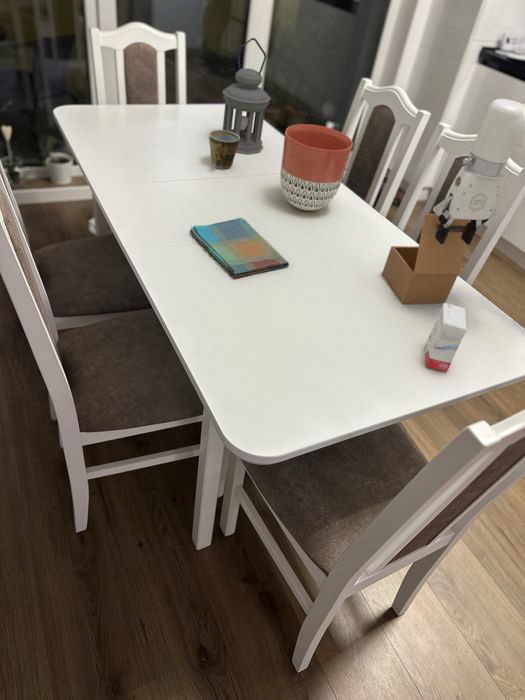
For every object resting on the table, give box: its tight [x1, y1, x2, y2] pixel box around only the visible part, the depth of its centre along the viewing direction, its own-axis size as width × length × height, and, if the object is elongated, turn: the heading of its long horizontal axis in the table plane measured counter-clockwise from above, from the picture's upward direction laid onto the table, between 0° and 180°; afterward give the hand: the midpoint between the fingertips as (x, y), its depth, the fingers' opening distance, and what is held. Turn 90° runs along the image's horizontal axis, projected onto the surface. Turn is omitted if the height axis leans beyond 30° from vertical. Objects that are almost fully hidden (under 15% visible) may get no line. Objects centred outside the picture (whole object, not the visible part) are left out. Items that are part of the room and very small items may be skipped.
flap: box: [414, 213, 470, 275], centre depth 125 cm, size 14×12×4 cm
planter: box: [279, 123, 354, 212], centre depth 160 cm, size 20×20×21 cm
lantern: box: [221, 37, 272, 155], centre depth 186 cm, size 17×17×35 cm
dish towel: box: [189, 217, 290, 278], centre depth 141 cm, size 17×23×2 cm
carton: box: [381, 245, 459, 305], centre depth 137 cm, size 13×12×9 cm
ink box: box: [425, 302, 467, 373], centre depth 115 cm, size 9×5×12 cm, turn 165°
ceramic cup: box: [208, 129, 240, 171], centre depth 177 cm, size 13×10×10 cm
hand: (452, 240), depth 123 cm, fingers closed on flap, 6 cm apart
